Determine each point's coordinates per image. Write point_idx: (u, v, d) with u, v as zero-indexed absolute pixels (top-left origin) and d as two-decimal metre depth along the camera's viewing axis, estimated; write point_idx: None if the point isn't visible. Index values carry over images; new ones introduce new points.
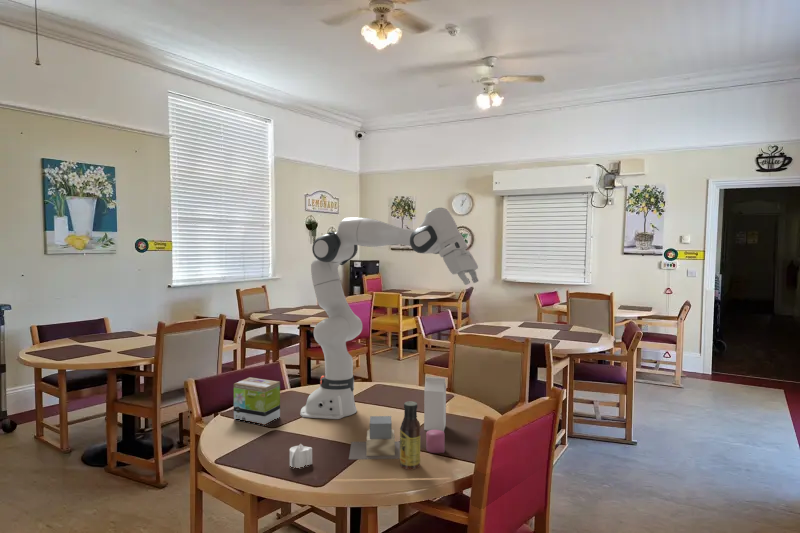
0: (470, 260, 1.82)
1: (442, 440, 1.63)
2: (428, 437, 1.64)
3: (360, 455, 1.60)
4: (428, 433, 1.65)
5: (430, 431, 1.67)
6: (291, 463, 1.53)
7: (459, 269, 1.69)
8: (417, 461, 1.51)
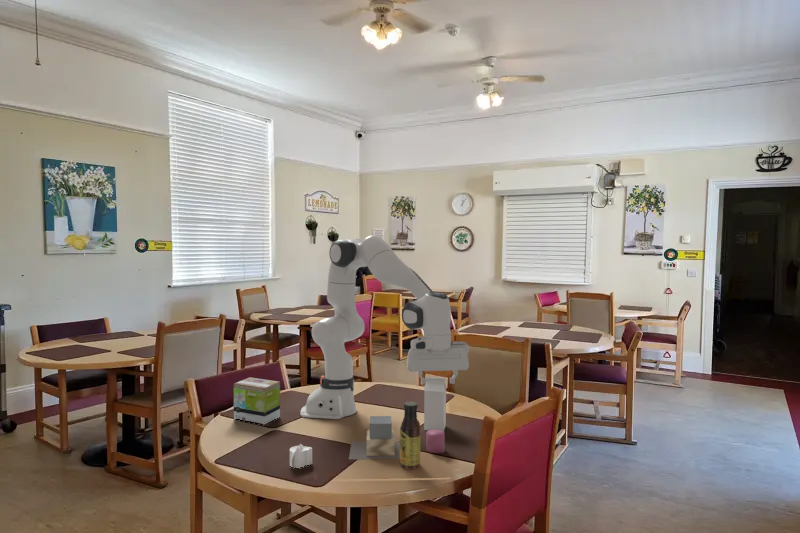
0: (452, 360, 1.63)
1: (442, 440, 1.63)
2: (428, 437, 1.64)
3: (360, 455, 1.60)
4: (428, 433, 1.65)
5: (430, 431, 1.67)
6: (291, 463, 1.53)
7: None
8: (417, 461, 1.51)
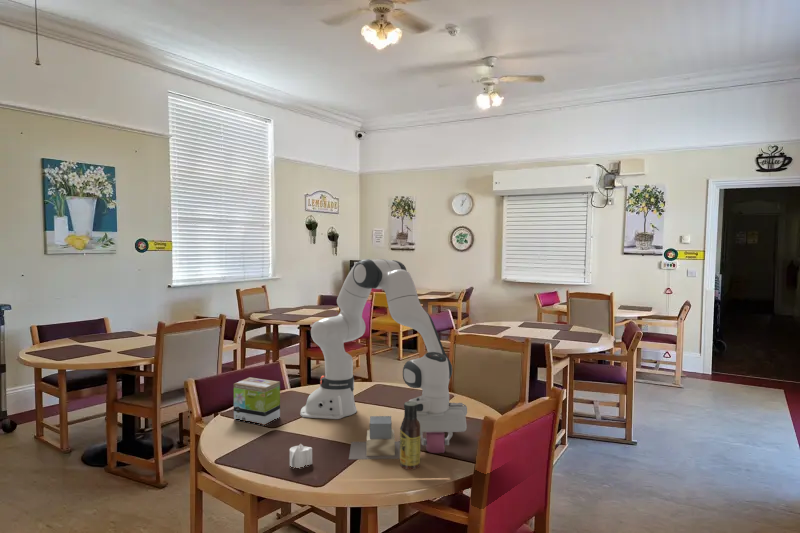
0: (450, 422, 1.64)
1: (442, 440, 1.63)
2: (428, 437, 1.64)
3: (360, 455, 1.60)
4: (428, 433, 1.65)
5: None
6: (291, 463, 1.53)
7: None
8: (417, 461, 1.51)
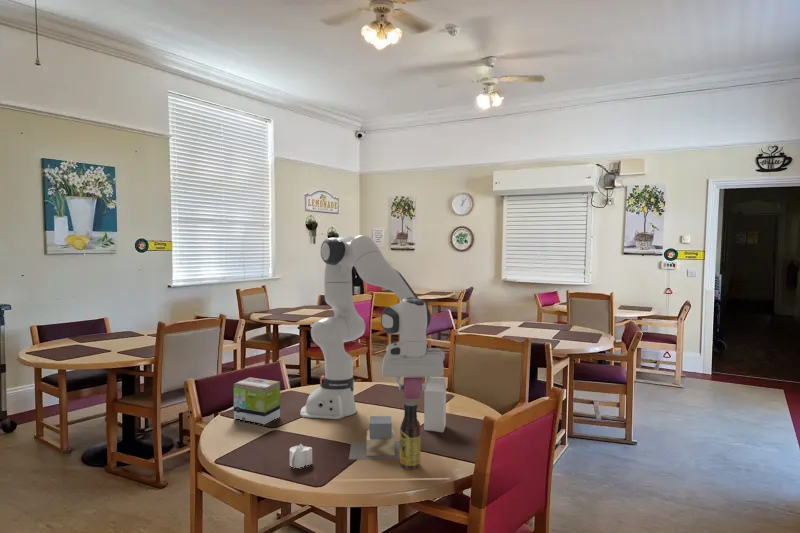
0: (427, 367, 1.63)
1: (419, 384, 1.63)
2: (405, 381, 1.63)
3: (360, 455, 1.60)
4: (405, 378, 1.64)
5: None
6: (291, 463, 1.53)
7: (383, 375, 1.63)
8: (417, 461, 1.51)
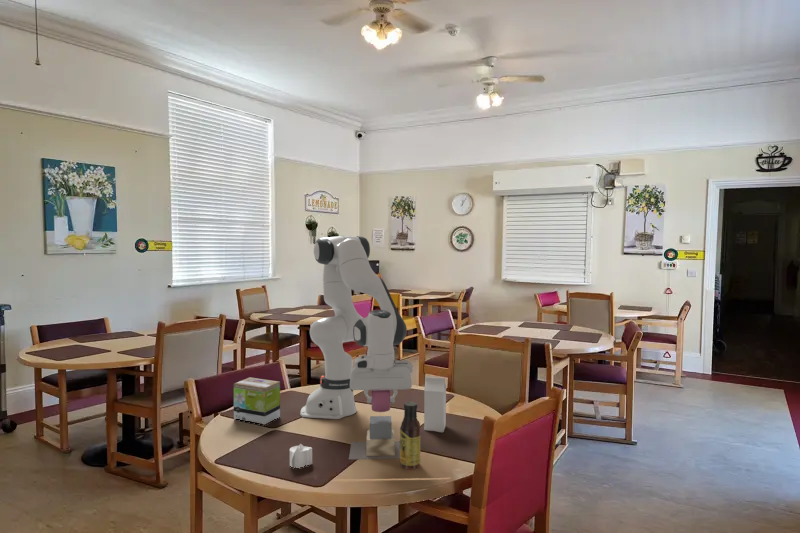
0: (394, 379, 1.62)
1: (387, 397, 1.62)
2: (373, 394, 1.62)
3: (360, 455, 1.60)
4: (373, 391, 1.64)
5: None
6: (291, 463, 1.53)
7: (350, 388, 1.62)
8: (417, 461, 1.51)
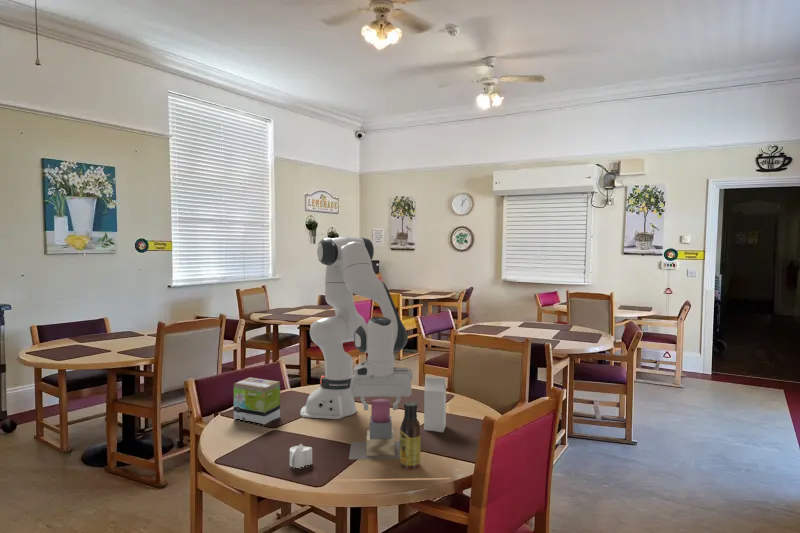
0: (394, 387, 1.62)
1: (387, 408, 1.62)
2: (373, 405, 1.63)
3: (360, 455, 1.60)
4: (373, 402, 1.64)
5: (376, 400, 1.66)
6: (291, 463, 1.53)
7: (350, 395, 1.62)
8: (417, 461, 1.51)
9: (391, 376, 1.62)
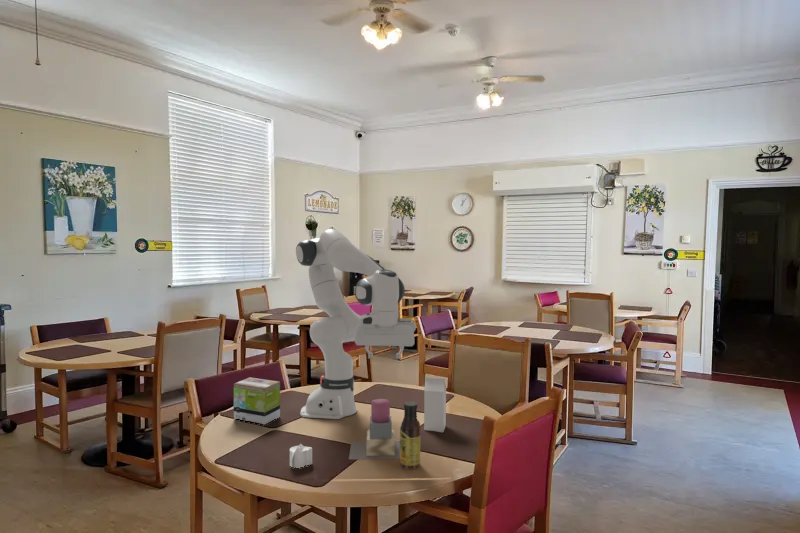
0: (398, 336, 1.69)
1: (386, 408, 1.62)
2: (372, 405, 1.63)
3: (360, 455, 1.60)
4: (373, 402, 1.64)
5: (376, 400, 1.66)
6: (291, 463, 1.53)
7: (356, 343, 1.69)
8: (417, 461, 1.51)
9: (395, 326, 1.68)
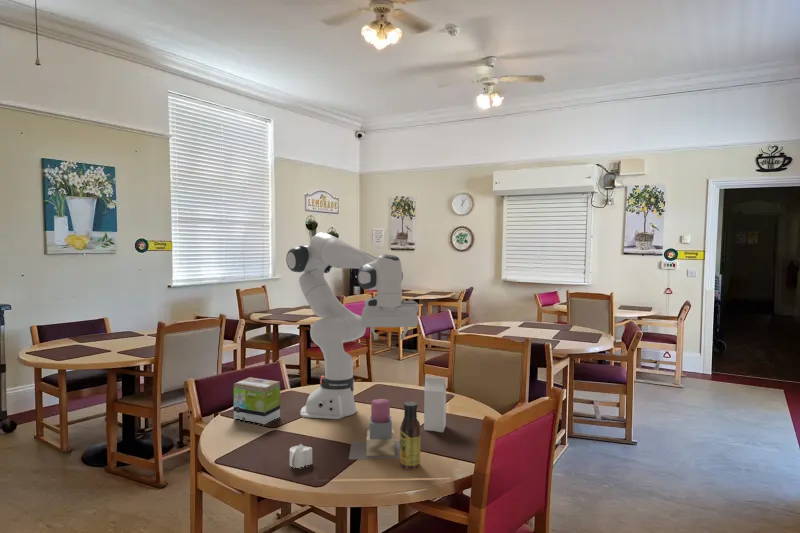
0: (402, 317, 1.77)
1: (386, 408, 1.62)
2: (372, 405, 1.63)
3: (360, 455, 1.60)
4: (373, 402, 1.64)
5: (376, 400, 1.66)
6: (291, 463, 1.53)
7: (362, 325, 1.77)
8: (417, 461, 1.51)
9: (399, 308, 1.76)
